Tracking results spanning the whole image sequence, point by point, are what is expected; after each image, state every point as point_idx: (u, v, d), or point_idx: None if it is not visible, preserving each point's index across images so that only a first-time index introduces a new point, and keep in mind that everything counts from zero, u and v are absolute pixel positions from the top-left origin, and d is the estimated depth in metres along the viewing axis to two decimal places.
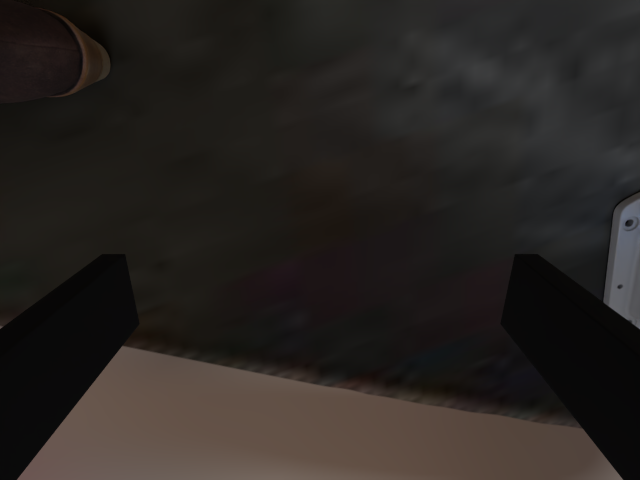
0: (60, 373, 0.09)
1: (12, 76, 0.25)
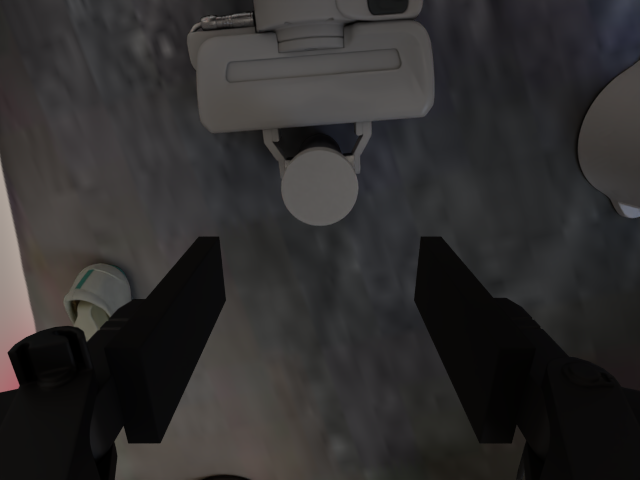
0: (190, 333, 0.11)
1: None
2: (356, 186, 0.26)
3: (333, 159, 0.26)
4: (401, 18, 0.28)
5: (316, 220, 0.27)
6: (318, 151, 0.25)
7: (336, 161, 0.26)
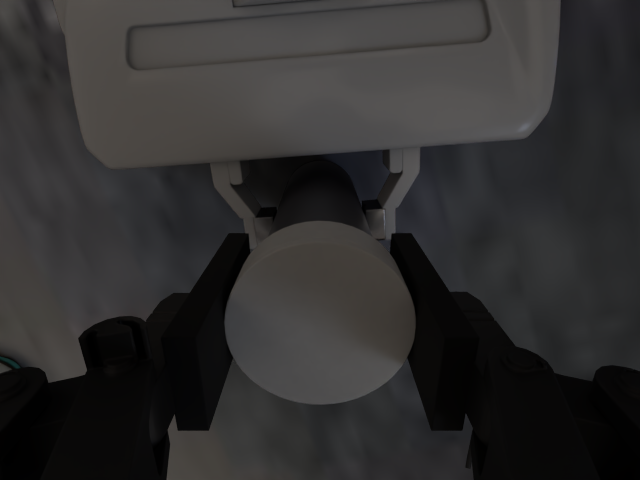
0: None
1: None
2: (412, 324, 0.10)
3: (356, 264, 0.10)
4: None
5: (312, 394, 0.11)
6: (317, 245, 0.10)
7: (363, 268, 0.10)
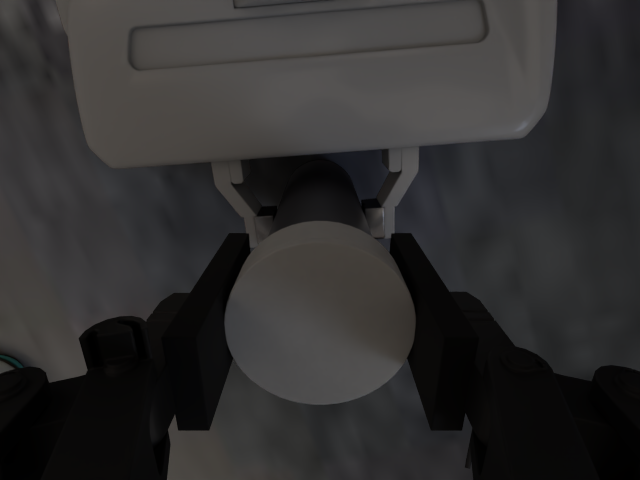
0: None
1: None
2: (272, 257, 0.10)
3: (238, 331, 0.11)
4: None
5: (399, 308, 0.10)
6: (239, 364, 0.11)
7: (239, 323, 0.10)
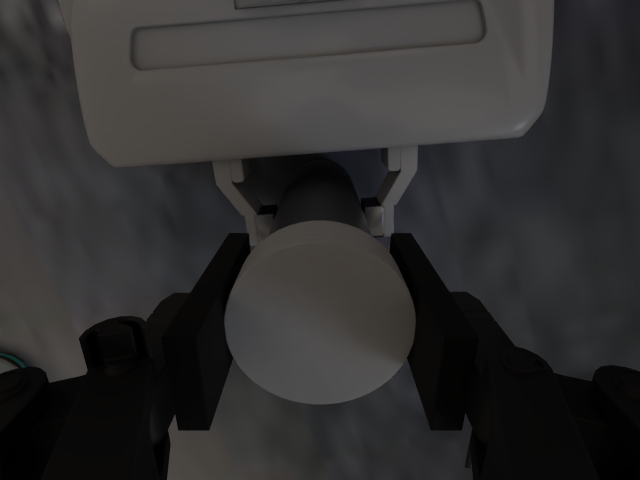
0: None
1: None
2: (268, 388, 0.11)
3: (350, 389, 0.11)
4: None
5: (261, 276, 0.10)
6: (387, 379, 0.11)
7: (342, 390, 0.11)
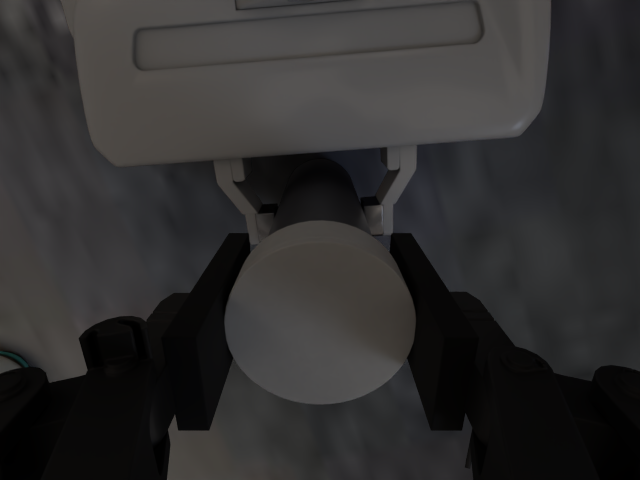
0: None
1: None
2: (407, 348, 0.11)
3: (378, 277, 0.10)
4: None
5: (289, 389, 0.11)
6: (348, 248, 0.10)
7: (383, 283, 0.10)
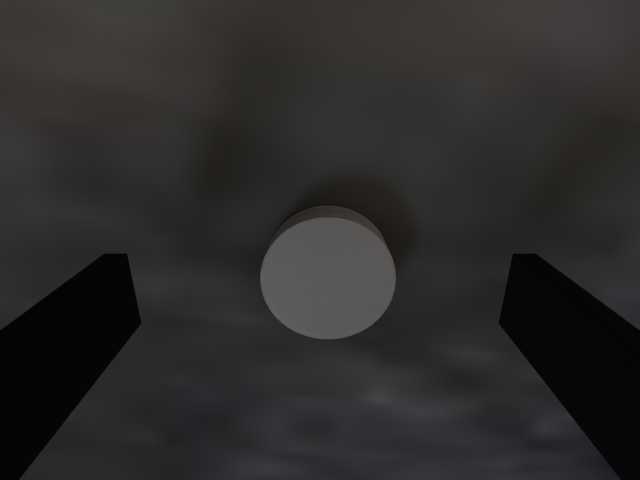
0: (63, 372, 0.09)
1: None
2: (390, 295, 0.15)
3: (368, 242, 0.14)
4: None
5: (305, 327, 0.16)
6: (347, 222, 0.14)
7: (372, 247, 0.14)
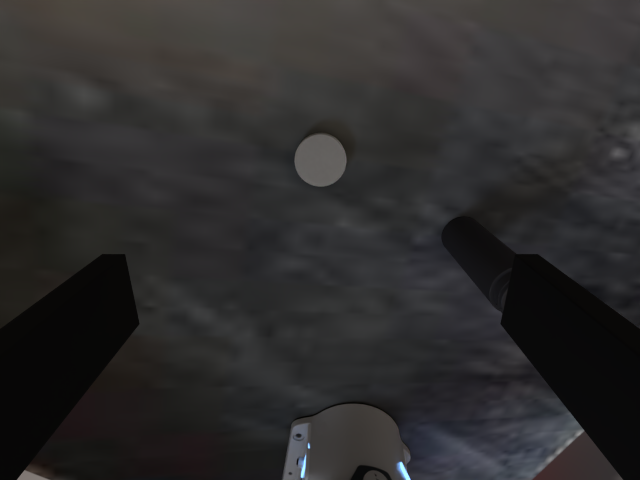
0: (60, 373, 0.09)
1: None
2: (344, 166, 0.39)
3: (335, 144, 0.38)
4: None
5: (311, 181, 0.40)
6: (327, 136, 0.38)
7: (337, 146, 0.39)
